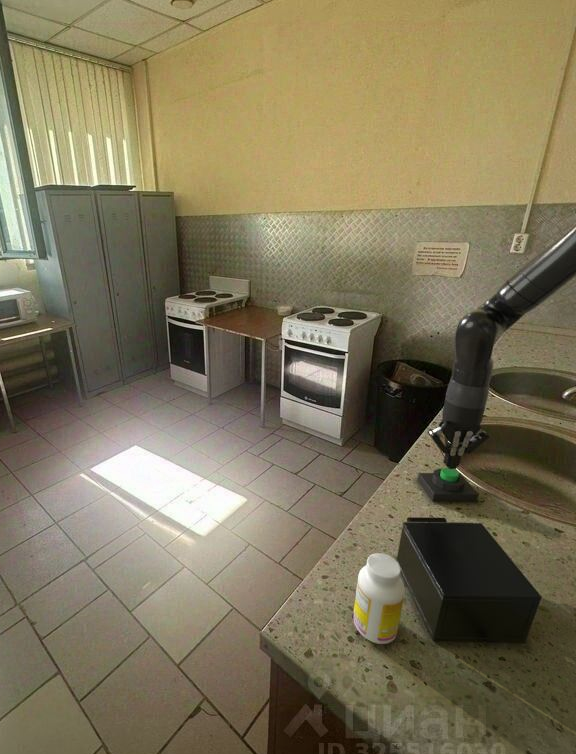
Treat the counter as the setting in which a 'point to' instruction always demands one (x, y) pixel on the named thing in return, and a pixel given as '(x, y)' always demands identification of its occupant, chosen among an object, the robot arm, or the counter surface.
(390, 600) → the supplement bottle
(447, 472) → the button
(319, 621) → the counter surface
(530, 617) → the black box
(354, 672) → the counter surface
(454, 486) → the control block
